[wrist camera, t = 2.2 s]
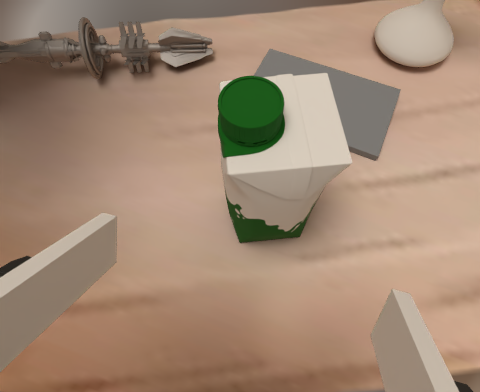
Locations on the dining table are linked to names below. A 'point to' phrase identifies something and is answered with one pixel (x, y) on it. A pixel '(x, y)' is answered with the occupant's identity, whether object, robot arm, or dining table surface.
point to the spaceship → (110, 48)
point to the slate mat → (345, 100)
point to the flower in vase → (415, 34)
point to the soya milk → (278, 151)
